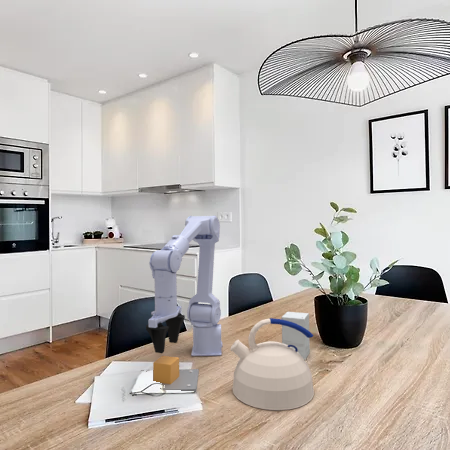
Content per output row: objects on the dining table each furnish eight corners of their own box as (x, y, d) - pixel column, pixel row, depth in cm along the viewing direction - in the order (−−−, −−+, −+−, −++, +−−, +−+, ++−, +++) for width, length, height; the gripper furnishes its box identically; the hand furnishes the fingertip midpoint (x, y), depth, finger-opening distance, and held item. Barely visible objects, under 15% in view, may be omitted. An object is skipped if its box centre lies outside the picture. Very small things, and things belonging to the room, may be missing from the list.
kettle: (231, 373, 101) (230, 308, 101) (306, 373, 100) (305, 308, 100) (230, 411, 81) (229, 331, 81) (323, 411, 80) (322, 330, 80)
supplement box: (310, 352, 116) (310, 313, 116) (305, 360, 109) (304, 318, 109) (287, 349, 119) (287, 310, 119) (281, 357, 112) (281, 316, 112)
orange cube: (162, 373, 98) (162, 355, 98) (179, 376, 97) (179, 357, 97) (153, 381, 94) (153, 362, 94) (170, 384, 92) (170, 364, 92)
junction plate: (198, 372, 101) (198, 356, 101) (196, 393, 89) (195, 374, 89) (141, 373, 101) (141, 357, 101) (131, 394, 89) (130, 376, 89)
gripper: (165, 289, 103) (166, 337, 103) (137, 300, 89) (138, 355, 90) (188, 291, 101) (188, 339, 101) (162, 302, 87) (163, 358, 87)
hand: (166, 347), depth 95 cm, fingers open, 7 cm apart
